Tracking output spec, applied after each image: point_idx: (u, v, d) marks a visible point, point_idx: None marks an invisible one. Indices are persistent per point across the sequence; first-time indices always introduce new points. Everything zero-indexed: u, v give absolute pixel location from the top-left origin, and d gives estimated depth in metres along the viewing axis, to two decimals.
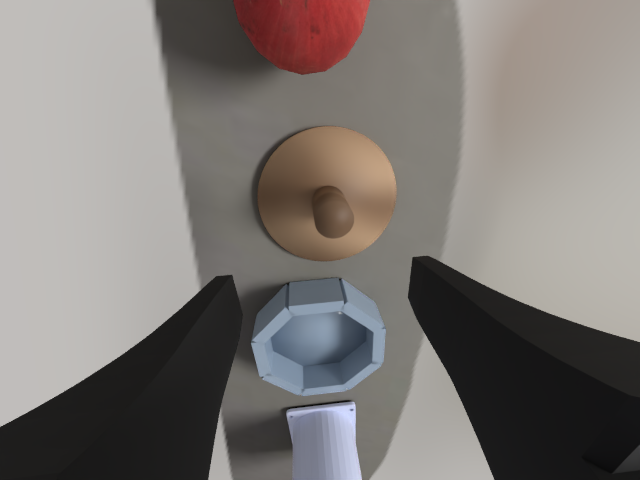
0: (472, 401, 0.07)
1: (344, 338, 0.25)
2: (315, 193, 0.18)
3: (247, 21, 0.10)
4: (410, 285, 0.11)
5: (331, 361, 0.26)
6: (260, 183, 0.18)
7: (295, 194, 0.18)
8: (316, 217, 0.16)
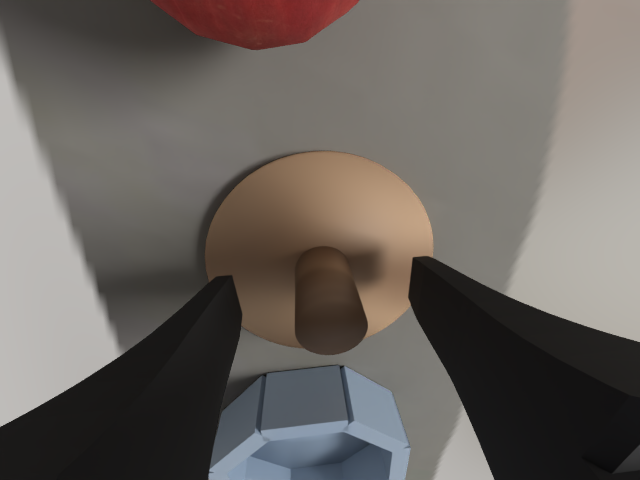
0: (472, 401, 0.07)
1: (347, 437, 0.18)
2: (300, 260, 0.11)
3: None
4: (410, 285, 0.11)
5: (329, 462, 0.19)
6: (208, 245, 0.11)
7: (268, 260, 0.11)
8: (298, 325, 0.08)
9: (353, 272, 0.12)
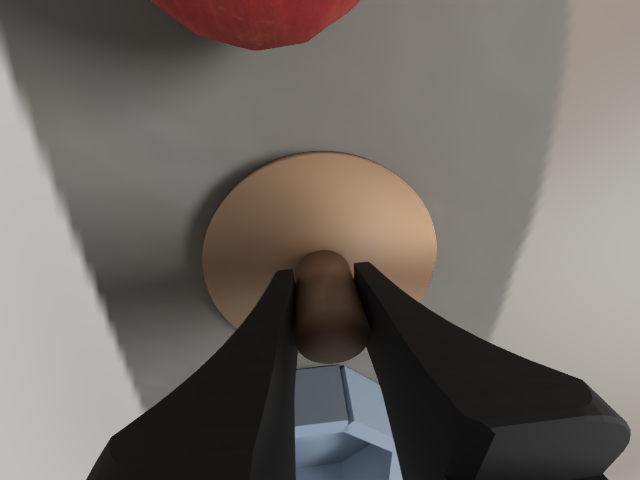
0: (391, 411, 0.07)
1: (347, 437, 0.18)
2: (300, 264, 0.11)
3: None
4: None
5: (329, 462, 0.19)
6: (205, 249, 0.10)
7: (267, 264, 0.11)
8: (297, 334, 0.08)
9: None
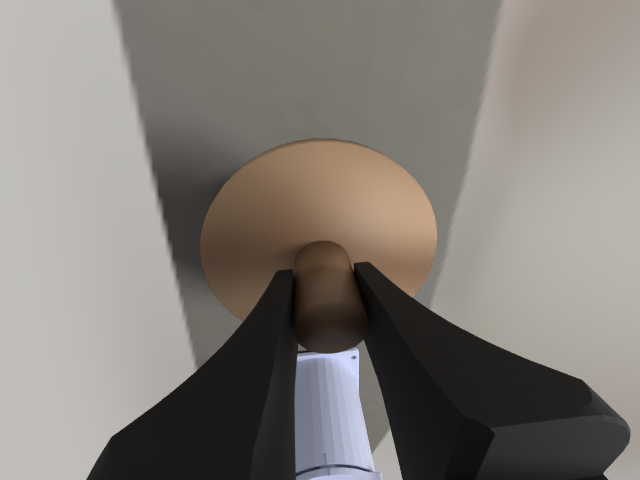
0: (391, 411, 0.07)
1: None
2: (300, 254, 0.11)
3: None
4: None
5: None
6: (203, 238, 0.10)
7: (266, 254, 0.11)
8: (297, 326, 0.08)
9: (353, 267, 0.11)
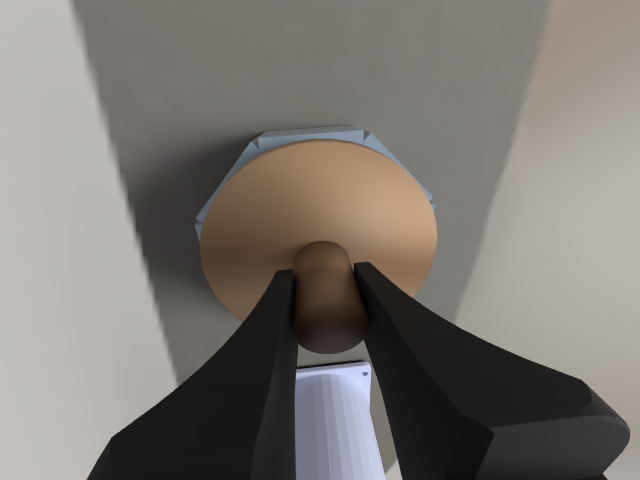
0: (391, 411, 0.07)
1: None
2: (300, 254, 0.11)
3: None
4: None
5: None
6: (203, 238, 0.10)
7: (266, 254, 0.11)
8: (297, 326, 0.08)
9: (353, 267, 0.11)
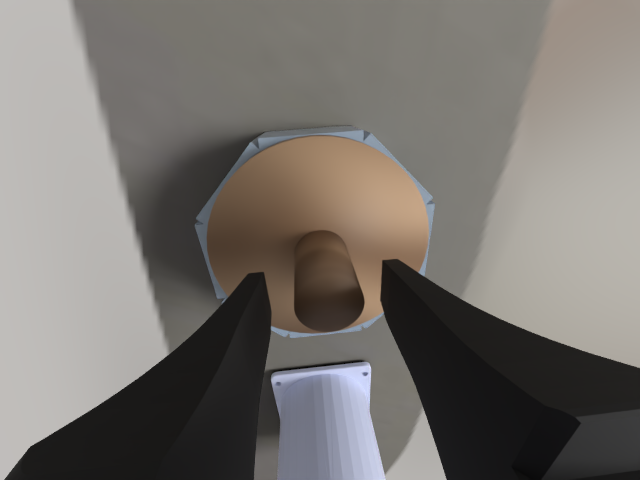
0: (430, 406, 0.07)
1: None
2: (300, 243, 0.11)
3: None
4: (381, 288, 0.11)
5: None
6: (210, 227, 0.11)
7: (268, 243, 0.11)
8: (297, 301, 0.09)
9: (351, 257, 0.12)
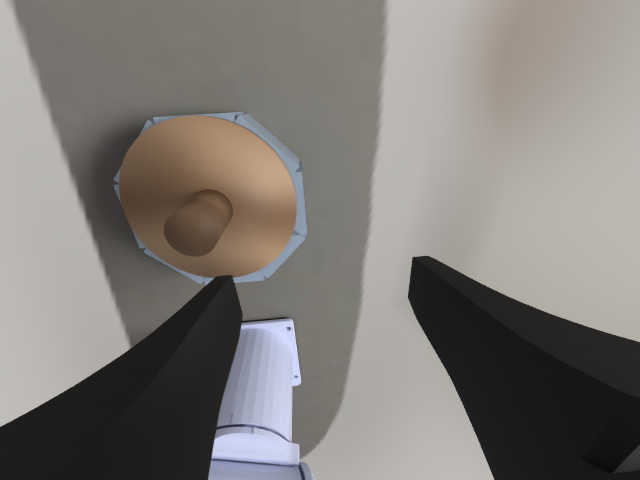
0: (472, 401, 0.07)
1: None
2: (191, 198, 0.15)
3: None
4: (410, 285, 0.11)
5: None
6: (120, 184, 0.14)
7: (168, 199, 0.15)
8: (165, 230, 0.12)
9: (236, 212, 0.16)
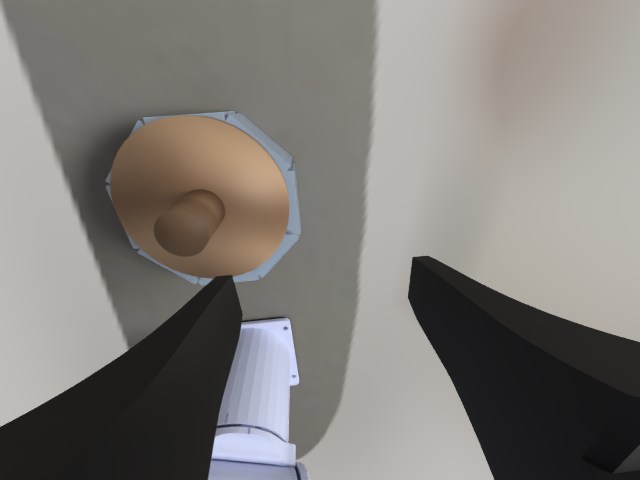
0: (472, 401, 0.07)
1: None
2: (182, 198, 0.15)
3: None
4: (410, 285, 0.11)
5: None
6: (112, 185, 0.14)
7: (160, 199, 0.15)
8: (155, 230, 0.12)
9: (229, 212, 0.16)
